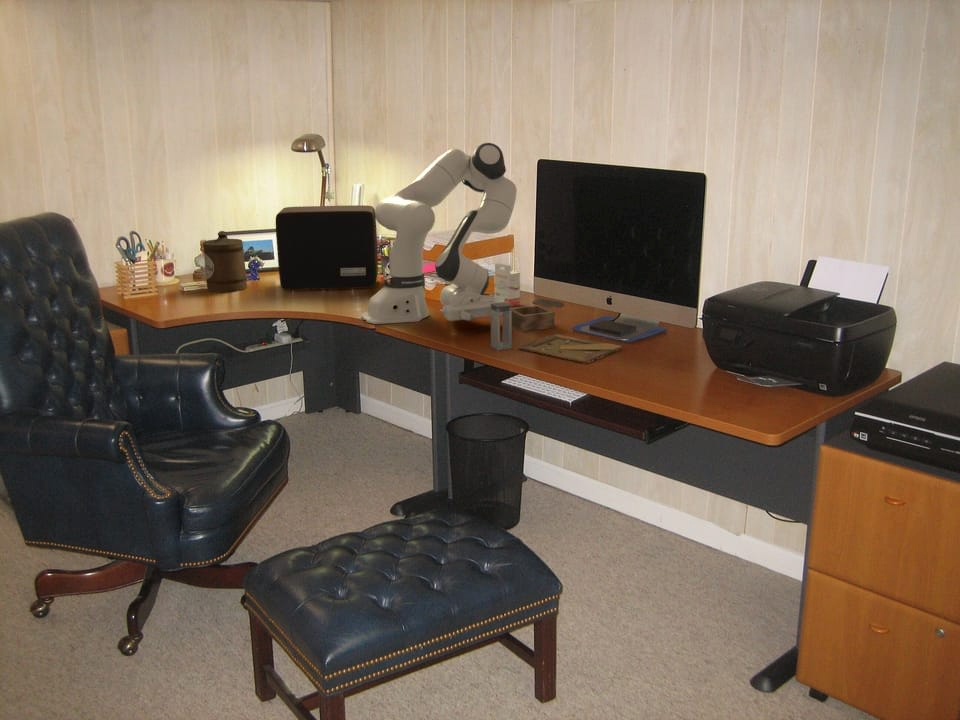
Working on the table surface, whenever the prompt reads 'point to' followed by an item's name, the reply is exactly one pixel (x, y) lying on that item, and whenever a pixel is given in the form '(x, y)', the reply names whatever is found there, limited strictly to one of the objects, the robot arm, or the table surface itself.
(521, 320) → the box
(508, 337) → the grey lantern
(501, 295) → the ink cartridge box
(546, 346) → the picture frame
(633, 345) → the table surface
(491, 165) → the robot arm
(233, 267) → the wooden container
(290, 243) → the radio
